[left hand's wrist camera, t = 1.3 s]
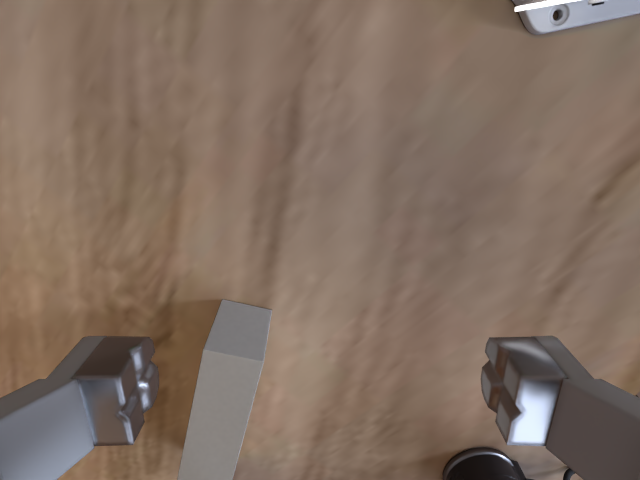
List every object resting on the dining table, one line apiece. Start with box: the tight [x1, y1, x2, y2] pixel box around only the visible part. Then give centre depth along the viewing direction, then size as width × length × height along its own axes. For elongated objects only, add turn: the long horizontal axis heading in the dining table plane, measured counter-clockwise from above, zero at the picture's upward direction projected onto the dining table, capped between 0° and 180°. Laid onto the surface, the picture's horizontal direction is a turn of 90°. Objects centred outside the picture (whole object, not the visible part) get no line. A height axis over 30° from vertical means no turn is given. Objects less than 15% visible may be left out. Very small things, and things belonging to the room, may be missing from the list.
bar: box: [177, 299, 272, 480], centre depth 47 cm, size 24×6×9 cm, turn 165°
